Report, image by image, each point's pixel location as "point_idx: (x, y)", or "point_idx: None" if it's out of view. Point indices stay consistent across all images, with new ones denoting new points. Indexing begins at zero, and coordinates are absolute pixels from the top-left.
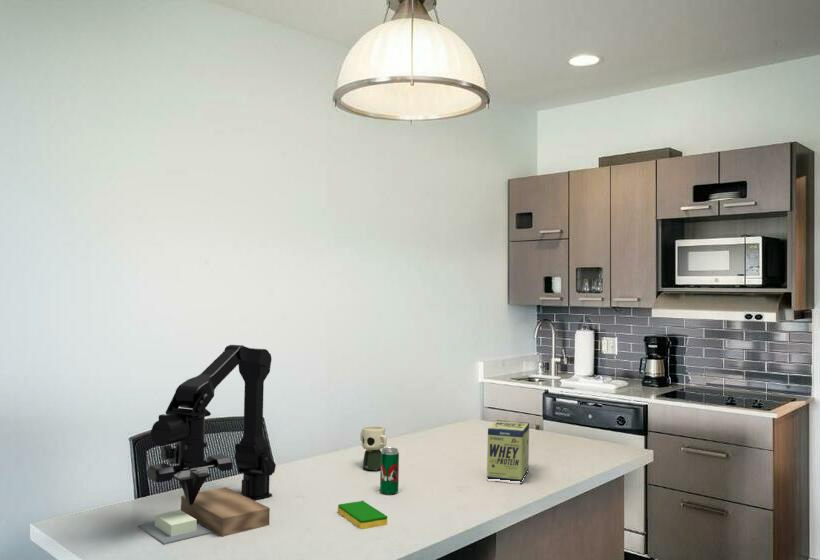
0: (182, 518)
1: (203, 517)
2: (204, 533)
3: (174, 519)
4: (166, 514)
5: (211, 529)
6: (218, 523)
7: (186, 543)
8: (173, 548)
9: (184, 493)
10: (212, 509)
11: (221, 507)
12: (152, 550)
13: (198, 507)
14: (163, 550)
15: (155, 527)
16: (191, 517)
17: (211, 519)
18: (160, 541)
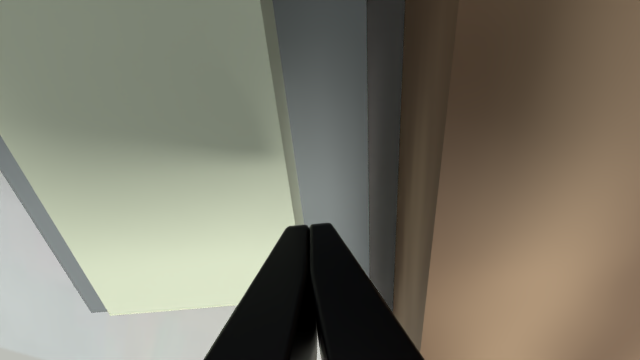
0: (214, 239)
1: (412, 183)
2: None
3: (145, 228)
4: (71, 58)
5: (395, 250)
6: None
7: (208, 332)
8: (139, 351)
9: (222, 345)
10: (469, 299)
11: (558, 290)
12: (36, 335)
13: (436, 125)
14: (91, 352)
15: None
16: None
17: (408, 299)
18: (73, 275)
